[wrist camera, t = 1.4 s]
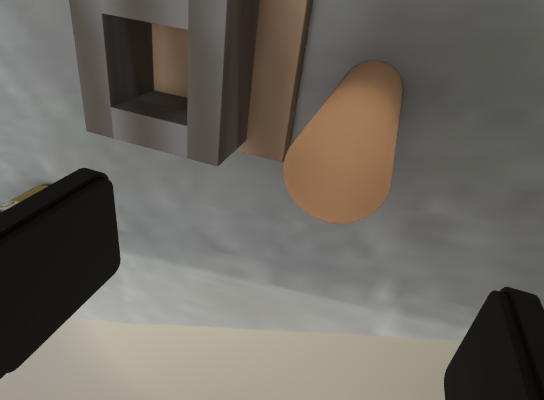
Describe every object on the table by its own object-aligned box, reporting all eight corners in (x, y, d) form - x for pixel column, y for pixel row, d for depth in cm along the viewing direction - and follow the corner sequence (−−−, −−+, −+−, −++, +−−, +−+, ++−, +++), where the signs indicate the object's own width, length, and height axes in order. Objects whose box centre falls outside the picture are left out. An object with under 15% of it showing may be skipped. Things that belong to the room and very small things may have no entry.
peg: (410, 66, 24) (406, 138, 13) (392, 126, 26) (374, 235, 15) (348, 55, 25) (291, 112, 14) (336, 113, 27) (276, 207, 16)
